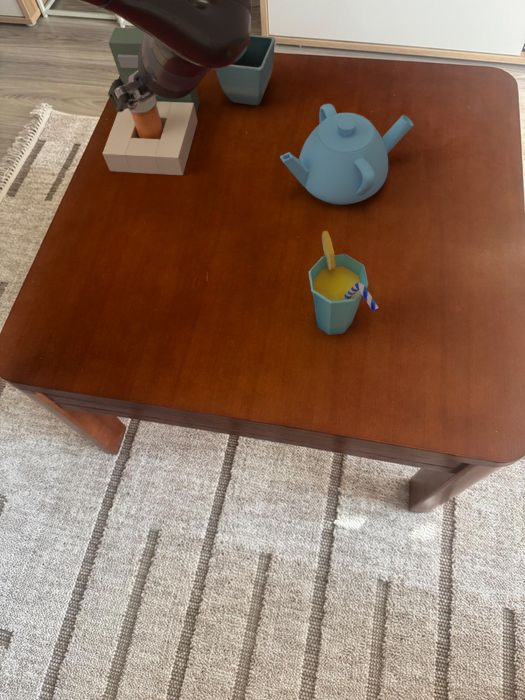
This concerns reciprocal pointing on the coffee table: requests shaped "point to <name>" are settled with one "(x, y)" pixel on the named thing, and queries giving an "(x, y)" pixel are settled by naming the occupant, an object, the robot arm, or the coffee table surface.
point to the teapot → (345, 156)
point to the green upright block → (126, 59)
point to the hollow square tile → (152, 142)
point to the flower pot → (249, 72)
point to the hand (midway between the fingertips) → (155, 89)
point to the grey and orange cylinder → (147, 120)
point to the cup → (337, 289)
